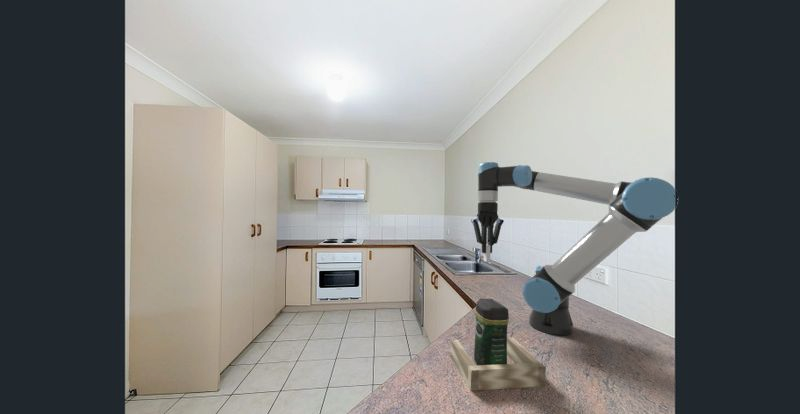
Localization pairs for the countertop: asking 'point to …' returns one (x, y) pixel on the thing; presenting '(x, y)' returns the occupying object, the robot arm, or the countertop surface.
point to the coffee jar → (491, 333)
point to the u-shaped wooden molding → (500, 369)
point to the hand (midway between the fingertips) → (486, 261)
